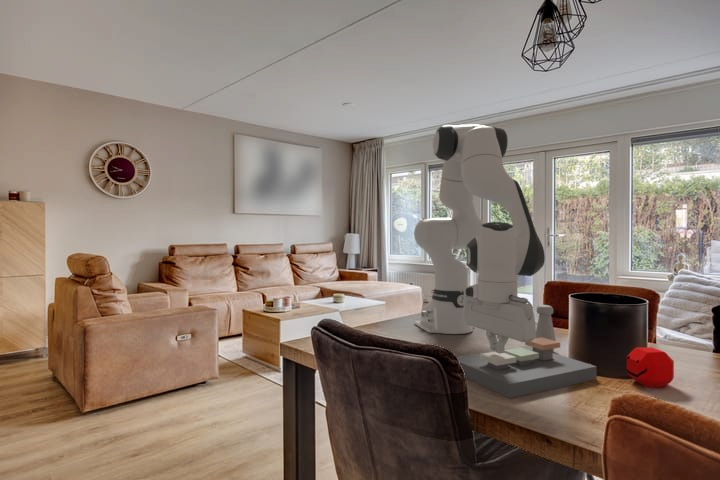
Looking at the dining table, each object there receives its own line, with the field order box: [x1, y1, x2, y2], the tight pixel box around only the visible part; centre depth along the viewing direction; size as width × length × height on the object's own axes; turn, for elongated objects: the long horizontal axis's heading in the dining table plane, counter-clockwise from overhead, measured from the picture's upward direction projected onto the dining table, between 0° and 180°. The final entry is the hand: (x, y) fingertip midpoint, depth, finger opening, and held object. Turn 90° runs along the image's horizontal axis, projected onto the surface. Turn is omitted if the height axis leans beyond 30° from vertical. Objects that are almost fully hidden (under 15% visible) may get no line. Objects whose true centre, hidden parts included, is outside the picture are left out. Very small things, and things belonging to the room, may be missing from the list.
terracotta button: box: [524, 337, 561, 361], centre depth 105 cm, size 6×6×4 cm
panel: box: [456, 345, 598, 399], centre depth 102 cm, size 20×26×3 cm
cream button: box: [480, 351, 516, 370], centre depth 99 cm, size 6×6×4 cm
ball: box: [626, 346, 675, 388], centre depth 95 cm, size 8×8×8 cm
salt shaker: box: [535, 304, 557, 352], centre depth 121 cm, size 6×6×13 cm
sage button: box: [504, 346, 539, 365], centre depth 102 cm, size 6×6×4 cm
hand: (497, 351), depth 99 cm, fingers closed
